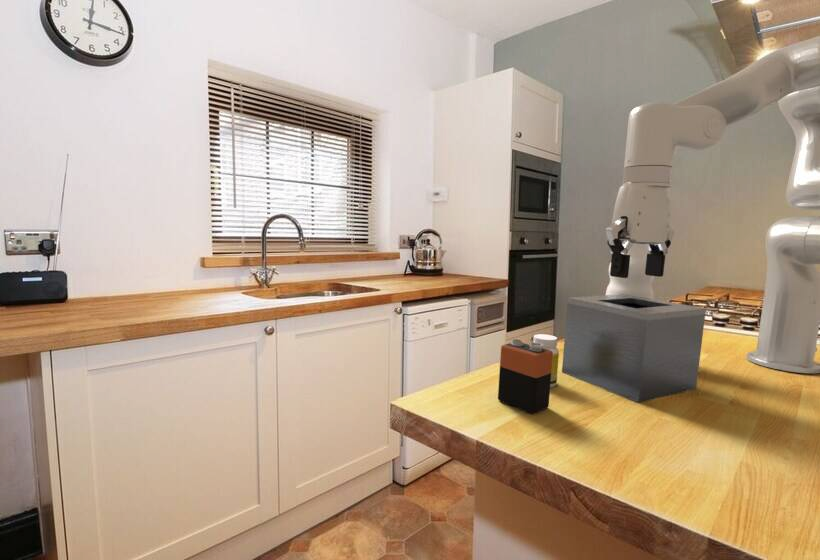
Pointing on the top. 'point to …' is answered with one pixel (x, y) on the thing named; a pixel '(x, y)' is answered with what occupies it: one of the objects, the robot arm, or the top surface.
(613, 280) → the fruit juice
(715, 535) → the top surface
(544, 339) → the supplement bottle
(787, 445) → the top surface
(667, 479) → the top surface
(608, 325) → the grey hollow block
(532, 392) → the battery
